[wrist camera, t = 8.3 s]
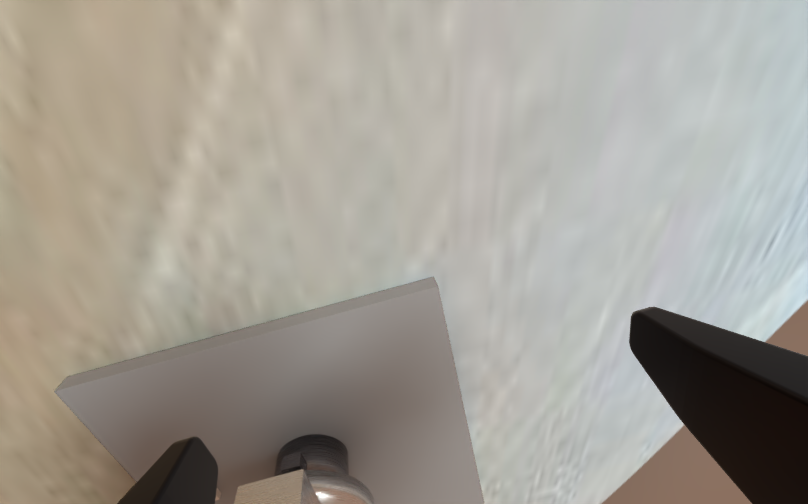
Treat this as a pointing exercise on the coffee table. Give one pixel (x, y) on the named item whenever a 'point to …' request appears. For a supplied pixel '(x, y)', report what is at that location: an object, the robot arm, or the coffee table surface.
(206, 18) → the coffee table surface
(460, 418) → the base plate
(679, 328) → the robot arm
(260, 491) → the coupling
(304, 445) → the dark grey rounded piece
